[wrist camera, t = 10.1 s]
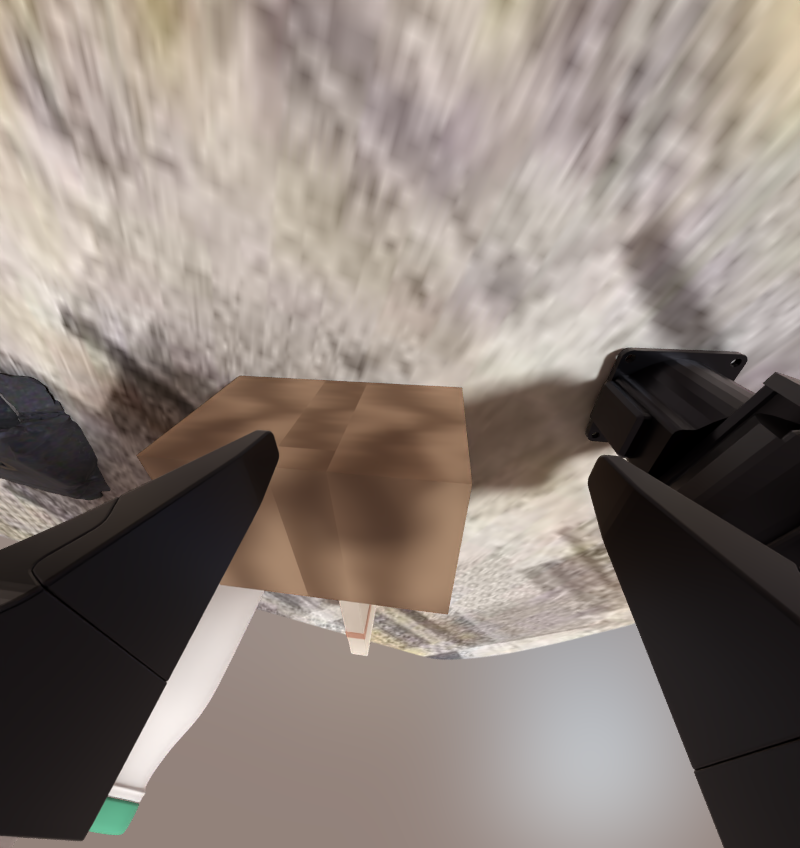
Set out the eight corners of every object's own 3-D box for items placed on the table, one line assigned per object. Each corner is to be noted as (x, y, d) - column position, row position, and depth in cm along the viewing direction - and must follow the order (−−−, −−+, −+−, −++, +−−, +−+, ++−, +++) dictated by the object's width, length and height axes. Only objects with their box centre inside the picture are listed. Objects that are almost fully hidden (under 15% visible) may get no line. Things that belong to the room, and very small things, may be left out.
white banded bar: (370, 515, 29) (355, 578, 24) (377, 598, 38) (367, 656, 33) (351, 513, 29) (331, 575, 24) (363, 596, 38) (350, 654, 33)
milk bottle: (206, 547, 36) (11, 817, 20) (268, 562, 37) (126, 842, 20) (214, 578, 41) (60, 821, 24) (270, 592, 41) (154, 841, 25)
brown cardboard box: (462, 387, 20) (472, 484, 13) (446, 510, 27) (447, 618, 20) (239, 375, 22) (136, 455, 15) (279, 495, 29) (223, 589, 22)
